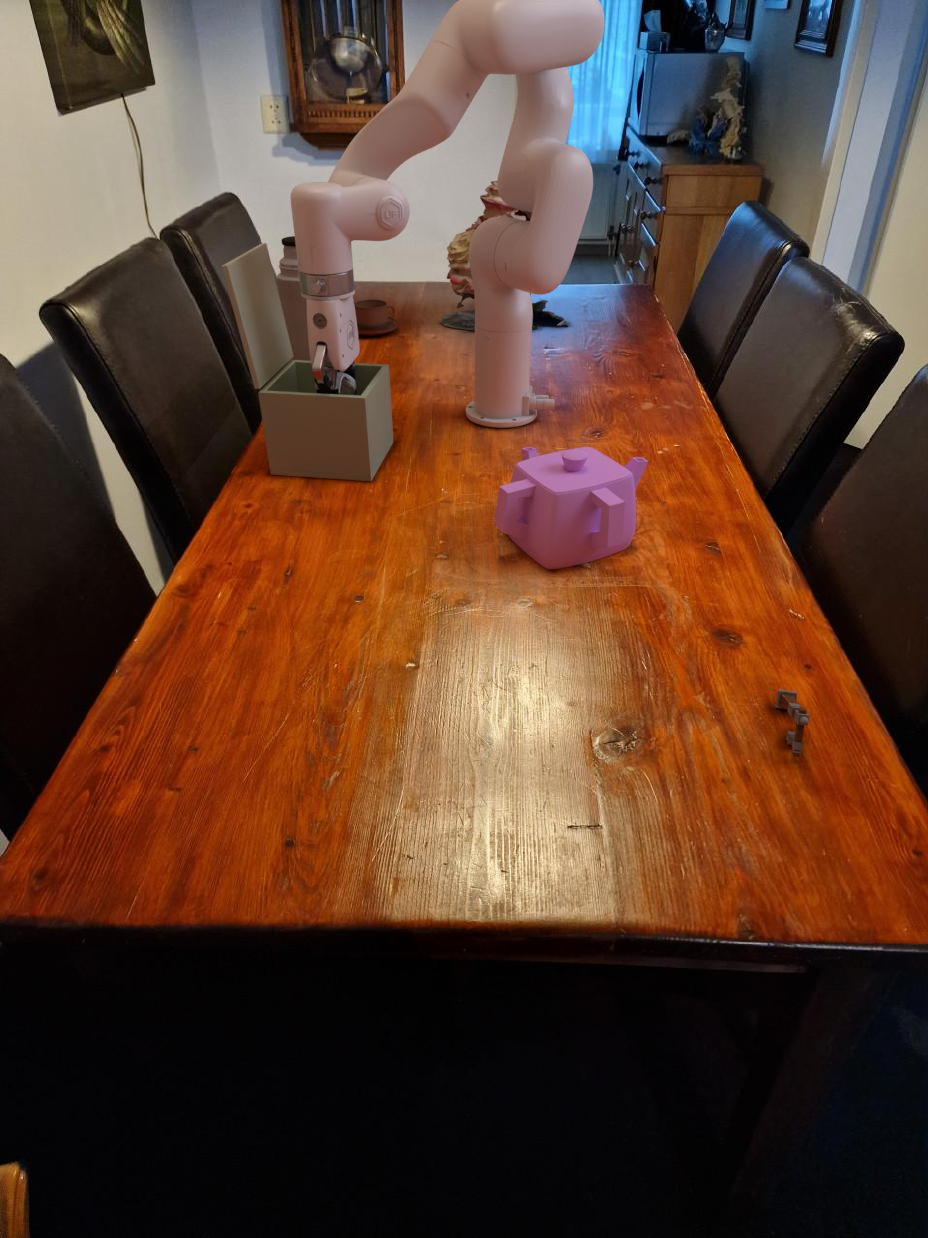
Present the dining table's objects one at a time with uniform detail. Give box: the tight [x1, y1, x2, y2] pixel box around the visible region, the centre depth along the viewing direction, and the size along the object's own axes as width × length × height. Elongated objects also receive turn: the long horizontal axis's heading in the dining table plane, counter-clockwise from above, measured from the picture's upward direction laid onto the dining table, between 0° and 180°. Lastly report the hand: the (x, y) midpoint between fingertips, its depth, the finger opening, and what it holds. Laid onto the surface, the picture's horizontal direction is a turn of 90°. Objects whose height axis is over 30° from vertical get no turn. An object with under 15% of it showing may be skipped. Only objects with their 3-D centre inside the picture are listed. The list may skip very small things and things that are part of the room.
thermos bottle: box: [276, 235, 311, 364], centre depth 140 cm, size 8×8×28 cm
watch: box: [327, 372, 356, 395], centre depth 124 cm, size 6×8×11 cm
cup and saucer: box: [354, 299, 399, 336], centre depth 184 cm, size 12×12×6 cm
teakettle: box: [494, 446, 649, 570], centre depth 104 cm, size 17×17×12 cm
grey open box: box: [257, 360, 394, 482], centre depth 125 cm, size 16×15×13 cm
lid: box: [221, 242, 293, 390], centre depth 118 cm, size 17×15×1 cm
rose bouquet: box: [440, 180, 569, 332], centre depth 183 cm, size 26×29×30 cm
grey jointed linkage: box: [774, 689, 810, 758], centre depth 77 cm, size 2×8×4 cm, turn 169°
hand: (338, 403), depth 124 cm, fingers closed on watch, 8 cm apart
